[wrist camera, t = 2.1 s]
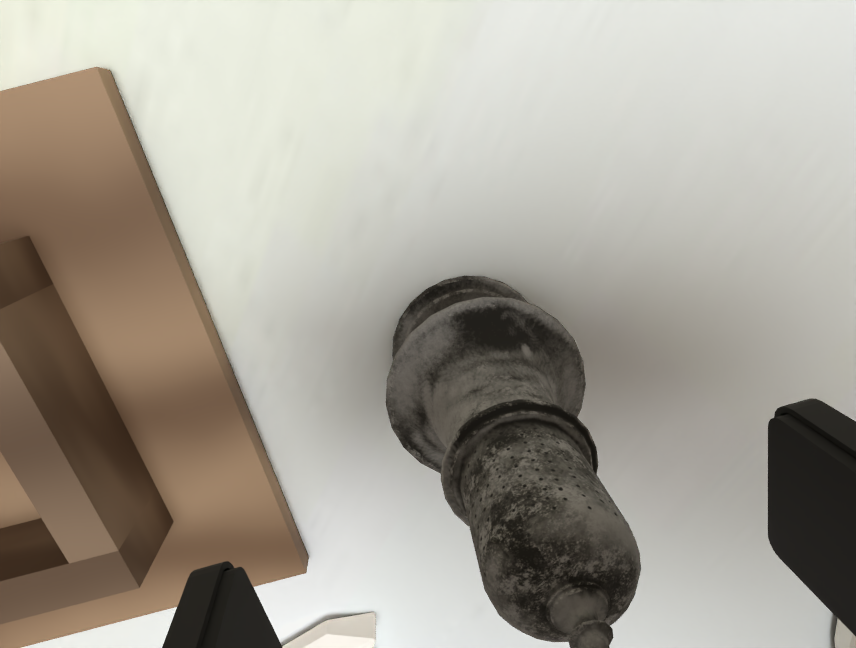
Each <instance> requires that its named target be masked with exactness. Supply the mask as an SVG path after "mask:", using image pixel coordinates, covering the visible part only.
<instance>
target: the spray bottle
mask: <svg viewBox="0 0 856 648" xmlns="http://www.w3.org/2000/svg"><path fill="white" fill-rule="evenodd" d="M375 641H376V615H375V613H374V612H372V613H366V614H360V615H354V616H348V617H342V618H336V619H330V620H326V621H324V622H323V623H321V624H319V625H318V626H316V627H314V628H313V629H311V630H309V631H308V632H306V633H304V634H302V635H301V636H299V637H297V638H296V639H294V640H292V641H291V642H289V643H287V644H286V645H284V646H282V648H373V647H374V644H375Z"/></svg>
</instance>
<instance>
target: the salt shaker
mask: <svg viewBox="0 0 856 648" xmlns="http://www.w3.org/2000/svg"><path fill="white" fill-rule="evenodd" d="M585 385H586V384H585V374H584V364H583V360H582V357H581V355H580V353H579V350H578V348H577V345H576V343H575V341H574V339H573V338H572V336H571V335H570V334H569V333H568V332H567V331H566V329H565V328H564V327H563V326H562V325H561V323H560V322H559V321H558V320H557V319H555V318H554V317H552V316H551V315H549V314H548V313H546V312H545V311H543V310H542V309H540V308H539V307H537V306H535V305H532V304H529V303H527V302H526V300H525V299H524V298H523V297H522V296H521V295H520V293H518V292H517V291H515V290H514V289H512V288H511V287H509V286H508V285H506V284H505V283H503V282H499V281H496V280H493V279H490V278H487V277H478V276H462V277H457V278H453V279H448V280H444V281H442V282H440V283H438V284H436V285H434V286H432V287H430V288H428V289H426V290H425V291H424V292H422V293H421V294H420V295H419V296H418V297H417V298H416V299H414V300H413V301H412V302H411V303H410V305H409V306H408V307H407V309H406V310H405V312H404V313H403V315H402V316H401V318H400V319H399V322H398V325H397V328H396V331H395V334H394V337H393V363H392V366H391V369H390V372H389V375H388V378H387V392H386V407H387V410H388V414H389V418H390V422H391V426H392V429H393V430H394V432H395V434H396V435H397V437H398V439H399V440H400V442H401V444H402V445H403V447H404V448H405V449H406V450H407V451H408V452H409V453H410V454H412V455H413V456H414V457H415V458H416V459H417V460H418V461H419V462H420V463H422V464H424V465H426V466H427V467H429V468H431V469H433V470H435V471H437V472H439V473H441V482H442V486H443V490H444V495H445V499H446V500H447V502H448V504H449V505H450V507H451V509H452V510H453V512H454V513H455V514H456V515H457V516H458V517H459V518H460V519H461V520H462V521H463V522H464V523H465V524H467V525H468V526H470V531H471V535H472V539H473V543H474V547H475V551H476V556H477V560H478V564H479V568H480V572H481V576H482V581H483V585H484V589H485V591H486V593H487V595H488V597H489V598H490V600H491V602H492V604H493V605H494V607H495V609H496V610H497V612H498V614H499V615H500V616H501V617H502V618H503V619H504V620H506V621H507V622H508V623H509V624H510V625H511V626H513V627H515V628H516V629H518V630H520V631H521V632H523V633H525V634H527V635H530V636H532V637H534V638H536V639H540V640H545V641H550V642H569V645H570V648H609V645H610V643H611V641H612V639H613V631H612V628H611V627H610V625H612V624H613V623H614V622H616V621H617V620H618V619H619V618H620V616H621V615H622V614H623V613H624V612H625V611H626V610H627V608H628V607H629V605H630V603H631V601H632V599H633V598H634V595H635V591H636V588H637V584H638V579H639V575H640V571H641V565H640V553H639V550H638V547H637V544H636V540H635V538H634V536H633V534H632V531H631V529H630V527H629V525H628V523H627V522H626V520H625V519H624V517H623V515H622V514H621V512H620V511H619V509H618V508H617V506H616V505H615V503H614V501H613V500H612V498H611V497H610V495H609V494H608V492H607V491H606V489H605V488H604V486H603V484H602V483H601V481H600V480H599V478H598V477H597V475H596V474H597V469H598V459H597V450H596V446H595V444H594V441H593V439H592V437H591V435H590V432H589V431H588V429H587V428H586V427H585V426H584V425H583V424H582V422H581V421H580V420H579V419H578V418H577V416H578V414H579V412H580V410H581V407H582V402H583V396H584V391H585Z"/></svg>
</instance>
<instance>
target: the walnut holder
mask: <svg viewBox="0 0 856 648" xmlns="http://www.w3.org/2000/svg"><path fill="white" fill-rule="evenodd" d="M308 559H309V557H308V555H307V552H306V550H305V547H304V545H303V542H302V540H301V537H300V535H299V532H298V530H297V528H296V525H295V523H294V520H293V518H292V515H291V513H290V510H289V508H288V505H287V503H286V501H285V498H284V496H283V493H282V491H281V488H280V486H279V483H278V481H277V478H276V476H275V474H274V471H273V469H272V466H271V464H270V461H269V459H268V456H267V454H266V451H265V449H264V447H263V444H262V442H261V439H260V437H259V434H258V432H257V429H256V427H255V425H254V422H253V420H252V417H251V415H250V412H249V410H248V407H247V405H246V402H245V400H244V398H243V395H242V393H241V390H240V388H239V385H238V383H237V380H236V378H235V375H234V373H233V371H232V368H231V366H230V363H229V361H228V358H227V356H226V353H225V351H224V348H223V346H222V344H221V341H220V339H219V336H218V334H217V331H216V329H215V326H214V324H213V321H212V319H211V317H210V314H209V312H208V309H207V307H206V304H205V302H204V299H203V297H202V295H201V292H200V290H199V287H198V285H197V282H196V280H195V277H194V275H193V272H192V270H191V268H190V265H189V263H188V260H187V258H186V255H185V253H184V250H183V248H182V245H181V243H180V241H179V238H178V236H177V233H176V231H175V228H174V226H173V223H172V221H171V218H170V216H169V214H168V211H167V209H166V206H165V204H164V201H163V199H162V196H161V194H160V191H159V189H158V187H157V184H156V182H155V179H154V177H153V174H152V172H151V169H150V167H149V165H148V162H147V160H146V157H145V155H144V152H143V150H142V147H141V145H140V142H139V140H138V138H137V135H136V133H135V130H134V128H133V125H132V123H131V120H130V118H129V115H128V113H127V111H126V108H125V106H124V103H123V101H122V98H121V96H120V93H119V91H118V88H117V86H116V84H115V81H114V79H113V76H112V74H111V71H110V70H107V69H103V68H99V67H94V68H90V69H86V70H82V71H78V72H74V73H70V74H66V75H62V76H59V77H55V78H51V79H47V80H43V81H39V82H35V83H31V84H27V85H23V86H19V87H15V88H11V89H7V90H4V91H0V648H21V647H25V646H28V645H32V644H36V643H40V642H44V641H48V640H51V639H55V638H59V637H63V636H67V635H70V634H74V633H78V632H82V631H86V630H90V629H93V628H97V627H101V626H105V625H109V624H113V623H116V622H120V621H124V620H128V619H132V618H136V617H139V616H143V615H147V614H151V613H155V612H159V611H162V610H166V609H170V608H174V607H178V604H179V601H180V599H181V596H182V593H183V590H184V588H185V585H186V582H187V580H188V577H189V575H190V573H191V572H192V571H194V570H196V569H200V568H203V567H207V566H210V565H214V564H218V563H221V562H225V561H229V562H230V563H231V564H232V565H233V566H234V568H237V567H242V568H243V569H244V570H245V572H246V573H247V576H248V578H249V580H250V582H251V584H252V586H253V587H254V586H258V585H262V584H266V583H270V582H273V581H277V580H281V579H285V578H289V577H293V576H296V575H300V574H304V573H306V572H307V565H308Z"/></svg>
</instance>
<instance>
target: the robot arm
mask: <svg viewBox="0 0 856 648" xmlns="http://www.w3.org/2000/svg"><path fill="white" fill-rule="evenodd" d="M768 538H769V541H770V544H771V546H772V548H773V550H774V551H775V553H776V554H777V555H778V557H779V558H780V559H781V560H782V561H783V562H784V563H785V564H786V565H787V566H788V567H789V568H790V569H791V570H792V571H793V572H794V573H795V574H796V575H797V577H798V578H799V579H800V580H801V581H802V582H803V583H804V584H805V585H806V586H807V587H808V588H809V589H810V590H811V591H812V592H813V593H814V594H815V595H816V596H817V597H818V598H819V599H820V600H821V601H822V602H823V603H824V604H825V605H826V607H827V608H828V609H829V610H830V611H831V612H832V613H833V614H834V615H835V616H836V617H837V618H838V620H837V626H836V632H835V638H834V640H835V648H856V422H855V421H854V420H852V419H850V418H849V417H847V416H845V415H844V414H842V413H840V412H839V411H837V410H835V409H834V408H832V407H830V406H829V405H827V404H825V403H824V402H822V401H820V400H817V399H807V400H804V401H800V402H796V403H793V404H789V405H786V406H782V407H780V408H778V409H777V410H776V412H775V416H774V418H772V419H771V420H770V421H769V424H768ZM162 648H282V646H281V644H280V642H279V639H278V637H277V635H276V633H275V631H274V629H273V627H272V625H271V623H270V621H269V619H268V617H267V615H266V613H265V611H264V609H263V606H262V604H261V602H260V600H259V598H258V596H257V594H256V592H255V590H254V588H253V586H252V584H251V582H250V580H249V578H248V576H247V573H246V572H245V570H244V569H243V568H242V567H237V568H234V566H233V565H232V564H231V563H230V562H229V561H225V562H221V563H218V564H214V565H210V566H207V567H203V568H200V569H196V570H194V571H192V572H191V573H190V575H189V577H188V580H187V582H186V585H185V588H184V590H183V593H182V596H181V599H180V601H179V604H178V607H177V609H176V612H175V615H174V617H173V620H172V623H171V626H170V628H169V631H168V634H167V636H166V639H165V642H164V644H163V647H162Z"/></svg>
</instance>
